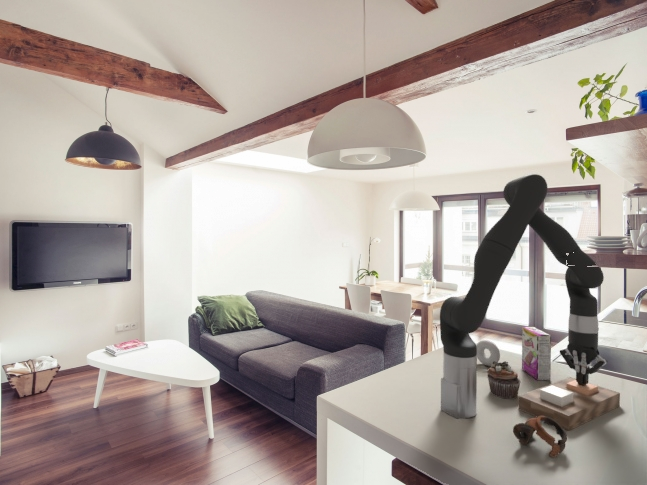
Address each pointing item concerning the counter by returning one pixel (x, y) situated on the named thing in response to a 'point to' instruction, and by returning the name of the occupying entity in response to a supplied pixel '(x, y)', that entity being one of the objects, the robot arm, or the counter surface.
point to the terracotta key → (582, 388)
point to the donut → (493, 351)
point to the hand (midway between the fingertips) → (582, 384)
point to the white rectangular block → (556, 395)
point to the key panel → (570, 405)
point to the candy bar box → (536, 353)
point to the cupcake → (503, 380)
